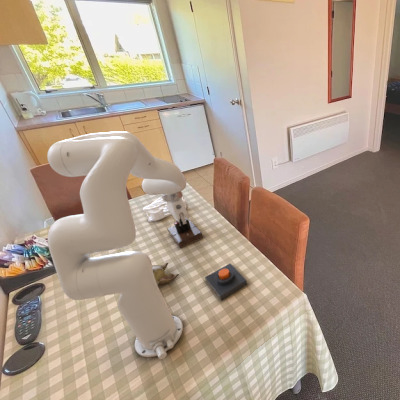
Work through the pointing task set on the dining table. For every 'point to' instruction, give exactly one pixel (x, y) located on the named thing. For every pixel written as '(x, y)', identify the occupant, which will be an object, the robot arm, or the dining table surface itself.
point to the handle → (179, 227)
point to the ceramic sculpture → (162, 274)
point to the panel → (185, 235)
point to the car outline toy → (158, 210)
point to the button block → (226, 282)
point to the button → (224, 274)
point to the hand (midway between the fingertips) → (184, 230)
